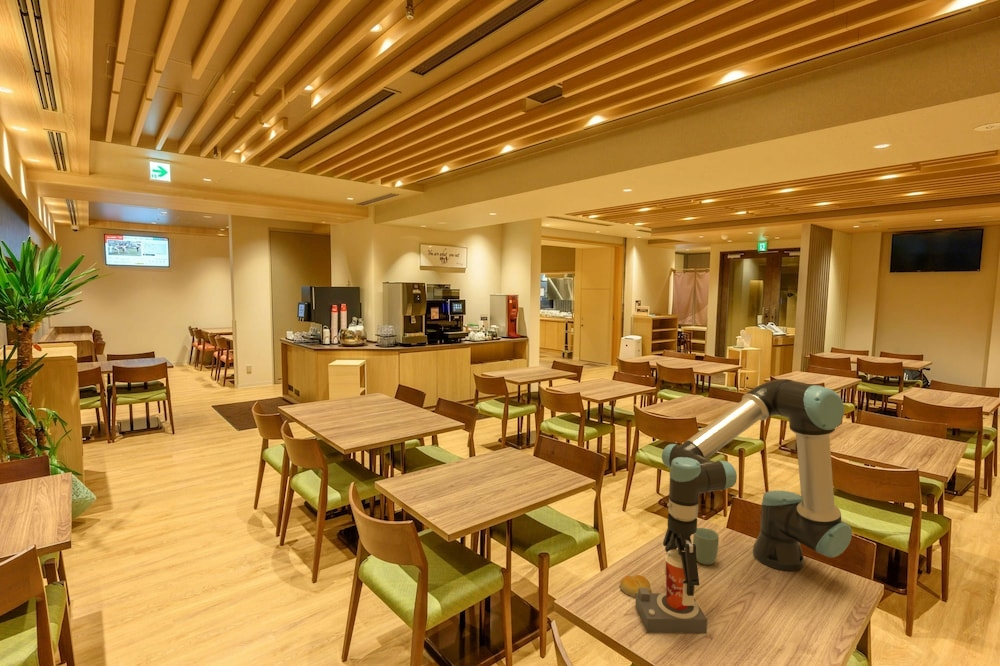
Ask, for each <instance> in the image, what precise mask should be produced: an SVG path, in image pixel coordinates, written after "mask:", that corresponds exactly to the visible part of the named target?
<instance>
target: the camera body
mask: <svg viewBox="0 0 1000 666" xmlns="http://www.w3.org/2000/svg"><path fill="white" fill-rule="evenodd" d="M634 606H635V609H636V611H637V613H638V616H639V617H640V619H641V622H642V624H643V625H642V626H643V627H644V629H645V631H646V633H647V634H707V632H708V631H707V630H708V629H707V628H708V618H707V616H706V615H705V613H704V611H703V610H702V608H701V607H700V605H699V604H698V602H697V600H696V599H695V598H694V606H688V607H687V608H686V609H684V610H677V609H674V608H672V607H670V606H669V605H668V604H667V599H666V591H663V592H661V593H659V592H654V593H653V592H651V593H649V591H648V589H647V588H639V589H638V593H636V597H635V605H634Z"/></svg>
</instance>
